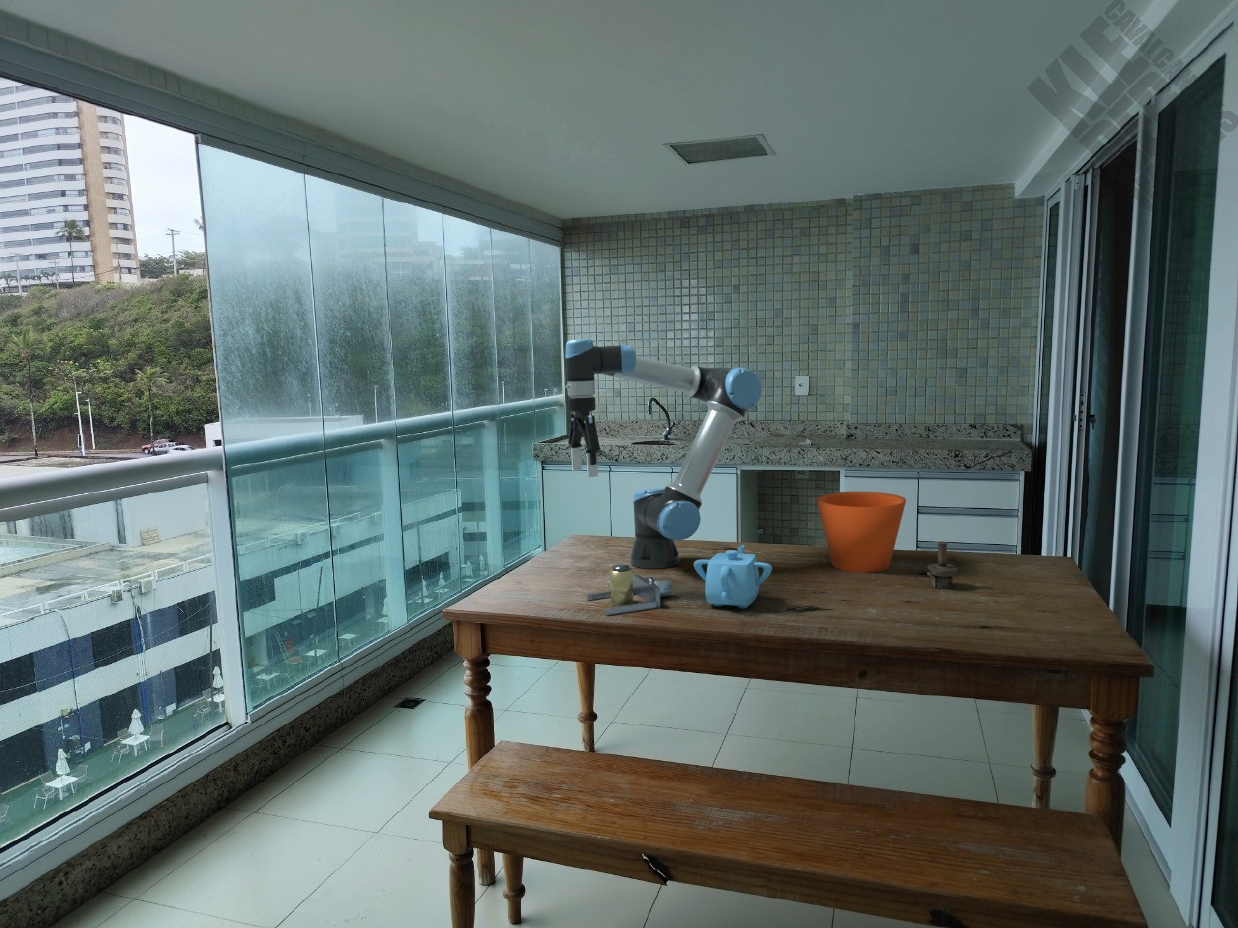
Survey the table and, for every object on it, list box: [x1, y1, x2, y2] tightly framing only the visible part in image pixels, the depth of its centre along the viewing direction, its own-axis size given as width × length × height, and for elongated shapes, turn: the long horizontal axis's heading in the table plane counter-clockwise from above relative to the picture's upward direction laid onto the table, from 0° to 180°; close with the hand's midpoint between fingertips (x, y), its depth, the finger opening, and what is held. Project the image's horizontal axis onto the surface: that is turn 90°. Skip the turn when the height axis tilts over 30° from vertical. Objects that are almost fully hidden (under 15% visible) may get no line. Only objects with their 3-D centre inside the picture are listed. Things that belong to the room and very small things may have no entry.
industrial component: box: [927, 541, 958, 589], centre depth 217 cm, size 9×7×12 cm
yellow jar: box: [608, 564, 635, 607], centre depth 213 cm, size 6×6×10 cm
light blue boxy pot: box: [693, 544, 773, 609], centre depth 211 cm, size 18×16×14 cm
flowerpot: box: [816, 491, 907, 574], centre depth 241 cm, size 25×25×20 cm
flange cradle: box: [586, 573, 674, 616], centre depth 214 cm, size 21×15×6 cm
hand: (584, 473), depth 227 cm, fingers open, 13 cm apart
